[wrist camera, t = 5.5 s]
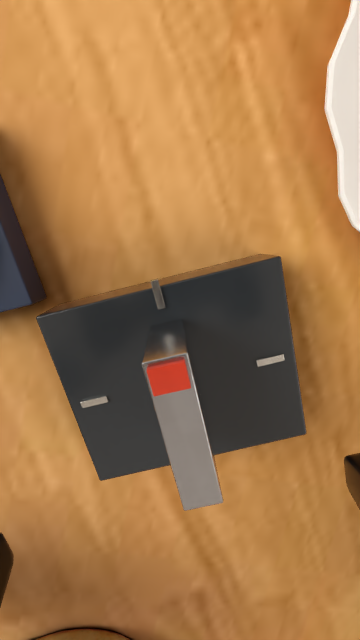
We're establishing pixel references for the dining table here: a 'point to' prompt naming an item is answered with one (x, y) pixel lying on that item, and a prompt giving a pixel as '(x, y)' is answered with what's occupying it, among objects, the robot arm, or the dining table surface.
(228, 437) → the tap console
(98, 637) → the pastry
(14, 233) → the button housing
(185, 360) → the tap handle
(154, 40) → the dining table surface
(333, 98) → the plate
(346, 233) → the dining table surface
